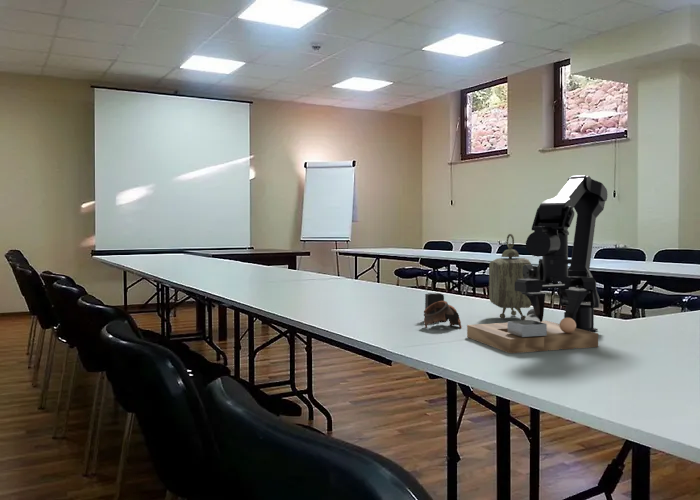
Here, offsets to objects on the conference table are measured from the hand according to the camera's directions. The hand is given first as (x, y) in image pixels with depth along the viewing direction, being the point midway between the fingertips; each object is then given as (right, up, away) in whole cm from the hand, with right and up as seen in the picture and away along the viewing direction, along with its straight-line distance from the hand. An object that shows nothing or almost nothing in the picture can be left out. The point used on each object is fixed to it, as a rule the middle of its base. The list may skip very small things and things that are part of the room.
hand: (555, 320), depth 140 cm
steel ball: (-6, 0, -2) cm, 6 cm away
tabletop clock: (-2, -4, +34) cm, 34 cm away
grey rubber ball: (-3, 0, +7) cm, 7 cm away
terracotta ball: (0, 0, -8) cm, 8 cm away
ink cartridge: (-24, -4, +32) cm, 40 cm away
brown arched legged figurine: (-24, -5, +20) cm, 31 cm away
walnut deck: (-7, -5, -2) cm, 8 cm away
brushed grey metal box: (-10, -2, -10) cm, 14 cm away
